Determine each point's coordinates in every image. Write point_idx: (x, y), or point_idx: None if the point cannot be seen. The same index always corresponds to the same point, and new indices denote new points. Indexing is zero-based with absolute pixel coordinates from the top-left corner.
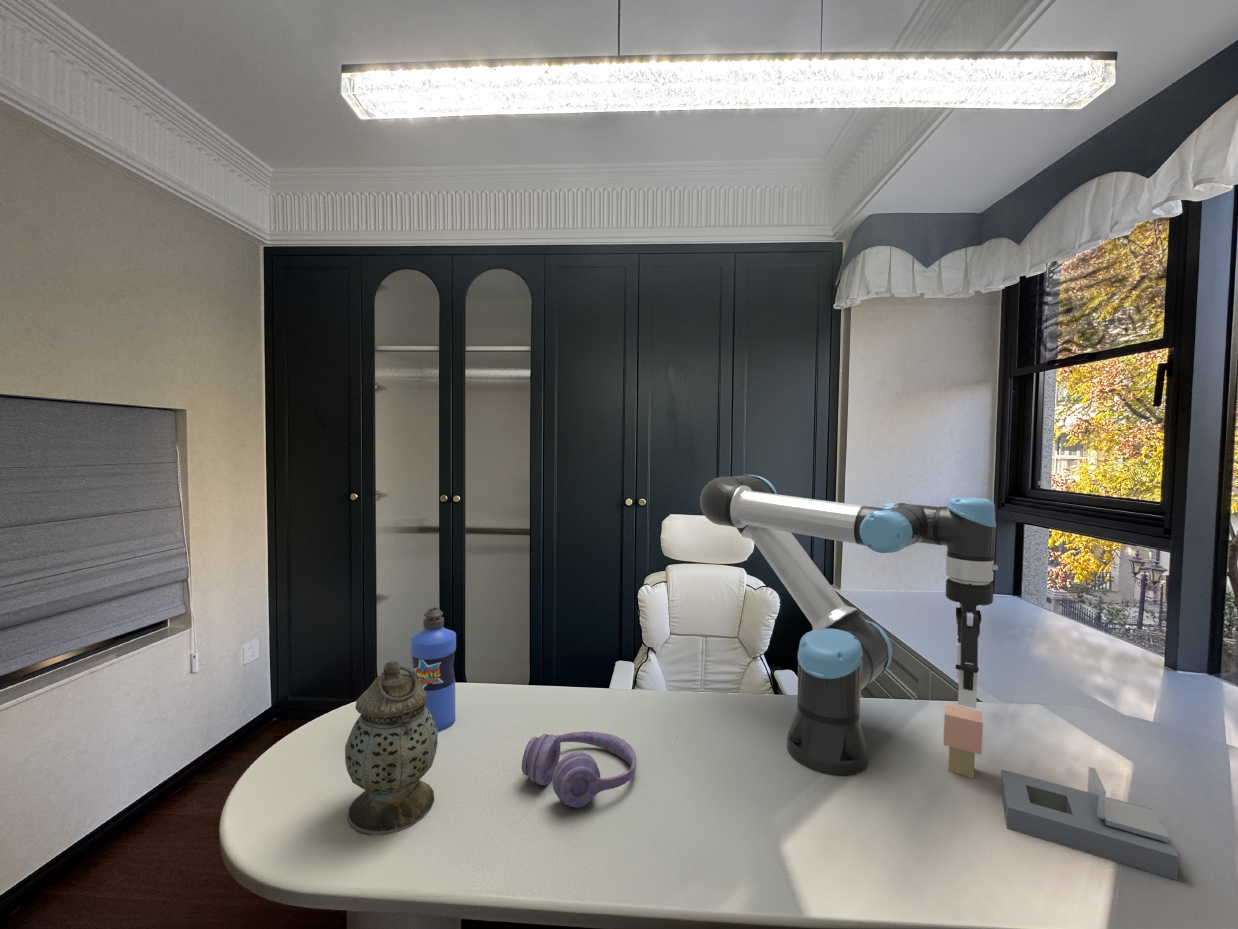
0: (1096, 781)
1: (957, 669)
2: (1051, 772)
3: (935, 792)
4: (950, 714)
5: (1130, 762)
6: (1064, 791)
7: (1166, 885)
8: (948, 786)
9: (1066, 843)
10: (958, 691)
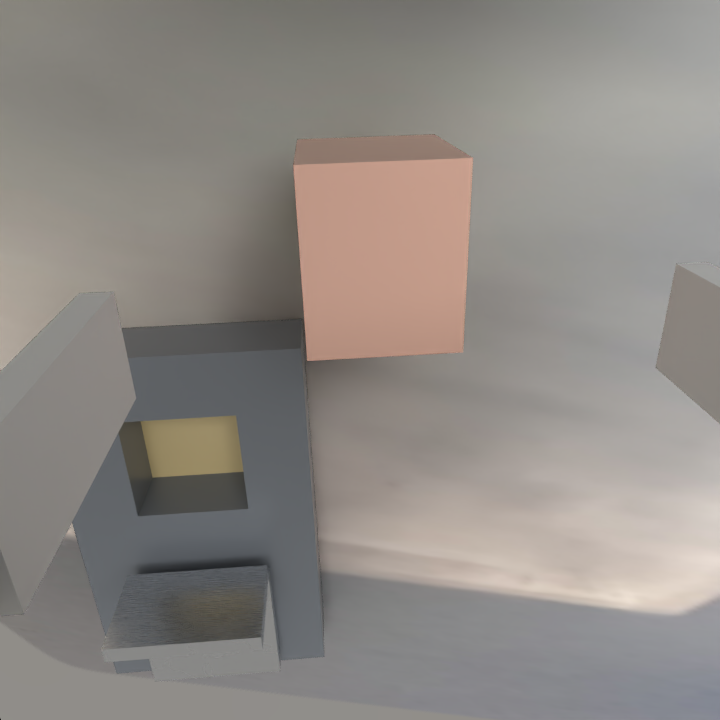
0: (159, 648)
1: (713, 289)
2: (508, 452)
3: (104, 105)
4: (311, 198)
5: (674, 611)
6: (274, 506)
7: (95, 606)
8: (189, 152)
9: None
10: (81, 328)
